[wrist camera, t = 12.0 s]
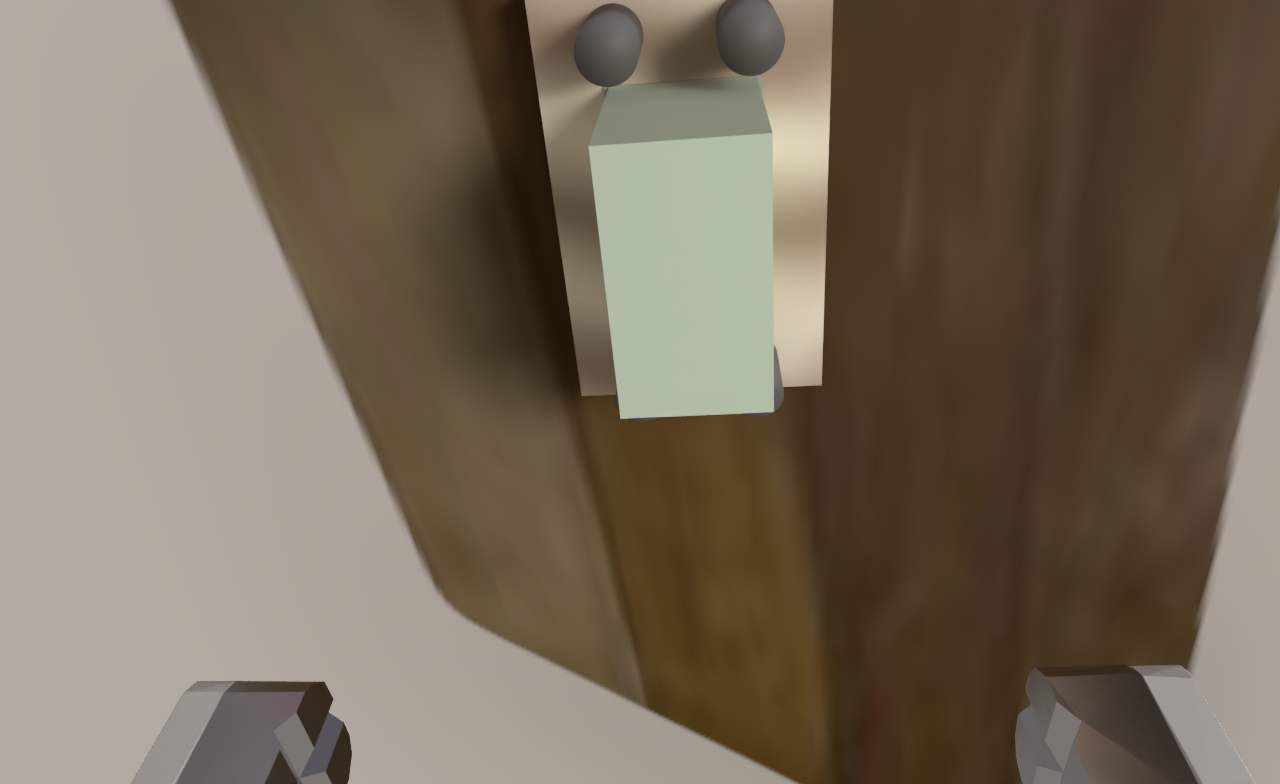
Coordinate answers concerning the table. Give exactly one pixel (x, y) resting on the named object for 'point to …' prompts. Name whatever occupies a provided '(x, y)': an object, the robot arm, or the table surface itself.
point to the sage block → (687, 245)
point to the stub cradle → (679, 51)
